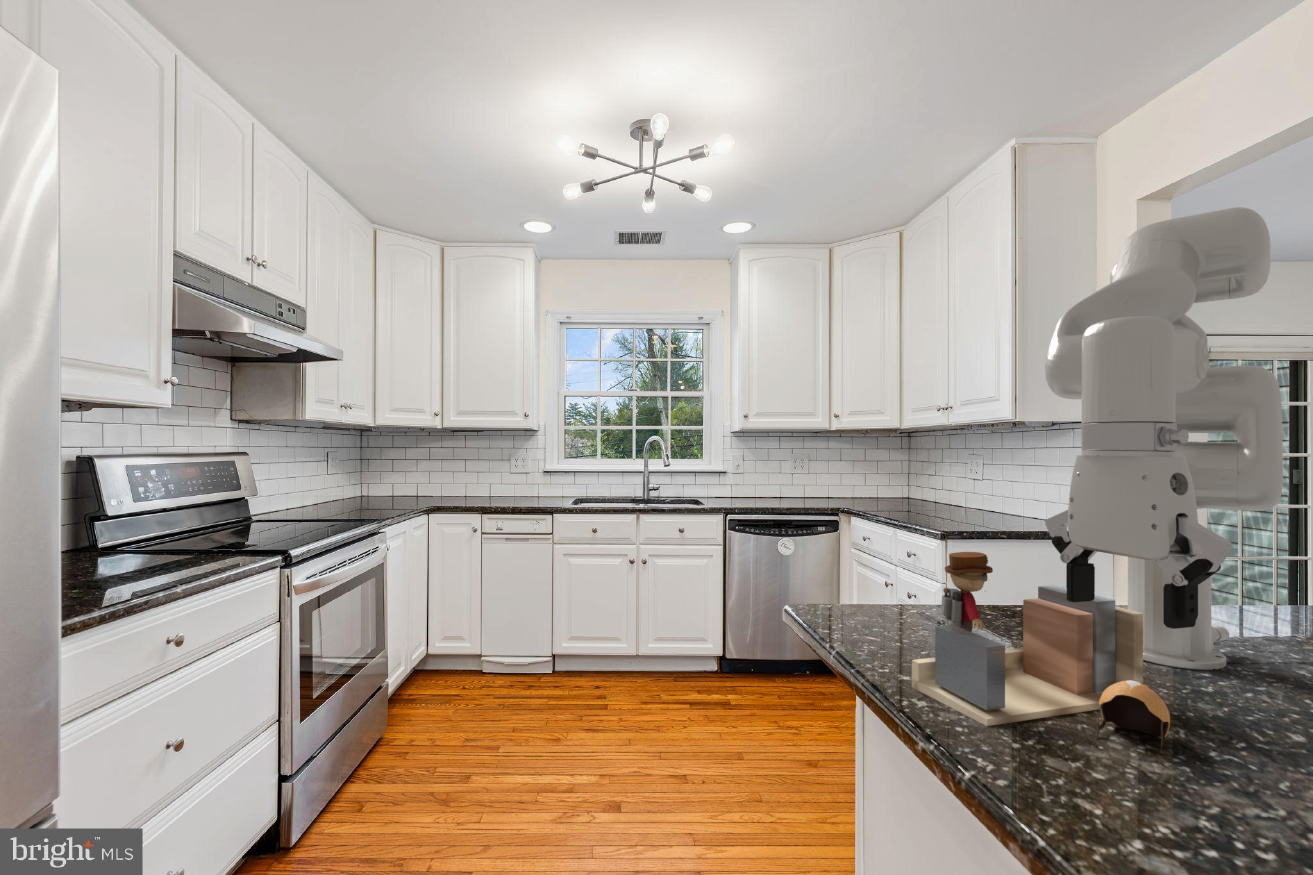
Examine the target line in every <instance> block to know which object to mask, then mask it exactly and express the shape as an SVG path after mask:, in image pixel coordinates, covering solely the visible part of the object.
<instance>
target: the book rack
mask: <svg viewBox="0 0 1313 875" xmlns="http://www.w3.org/2000/svg"><path fill="white" fill-rule="evenodd" d="M1037 596H1038V597H1037V598H1028V599H1027V598H1025V599H1023V600H1022V602H1023V603H1022V605H1023V607H1022V608H1023V610H1022V614H1023V615H1022V616H1023V617H1022V619H1023V620H1022V621H1023V622H1022V623H1023V625H1022V626H1023V627H1022V633H1023V634H1022V635H1023V638H1022V639H1023V640H1022V641H1023V642H1022V643H1023V645H1022V647H1017V648H1016V647H1015V648H1014V647H1013V648H1005V708H1002V709H995V710H988V711H987V710H985V709H983V708H981V707H979V706H977V705H975V704H974V703H972V702H970V701H968V700H966V699H964V698H962V697H960V696H959V695H957V694H955V693H953V692H951V691H949V690H947V689H945V688H944V687H942V686H940V685H938V684H936V683H935V656H934V657H927V658H919V659H917V658H916V659H912V660H911V688H913V689H914V690H916V691H919V692H920V693H922V694H924V695H926V696H927V697H930V698H932V699H934V700H936V701H938V702H940V703H942V704H943V705H945V706H947V707H949V708H952V710H953V709H954V710H955V711H956V712H959V713H961V714H963V715H964V716H966V717H968V718H970V719H972V720H974V721H976V722H978V723H980V724H982V725H984V726H986V727H990V726H995V725H996V726H997V725H1002V724H1003V725H1005V724H1009V723H1018V722H1023V721H1024V722H1025V721H1029V720H1030V721H1031V720H1037V719H1042V718H1050V717H1058V716H1063V715H1070V714H1076V713H1082V712H1089V711H1097V710H1100V706H1099V701H1100V698H1101V695H1102V693H1103V692H1104V690H1105V689H1107V688H1108V687H1109V686H1111V685H1113V684H1115V683H1117V682H1121V681H1127V680H1132V681H1136V682H1139V683H1141V684H1143V685H1144V660H1143V613H1140V612H1136V611H1132V610H1128V608H1124V607H1120V606H1116V599H1112V598H1109V597H1105V596H1099V595H1096V594H1095V599H1094V600H1092V601H1086V602H1070V601H1068V600H1067V587H1065V586H1060V585H1057V584H1054V585H1041V586H1038V587H1037Z"/></svg>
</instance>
